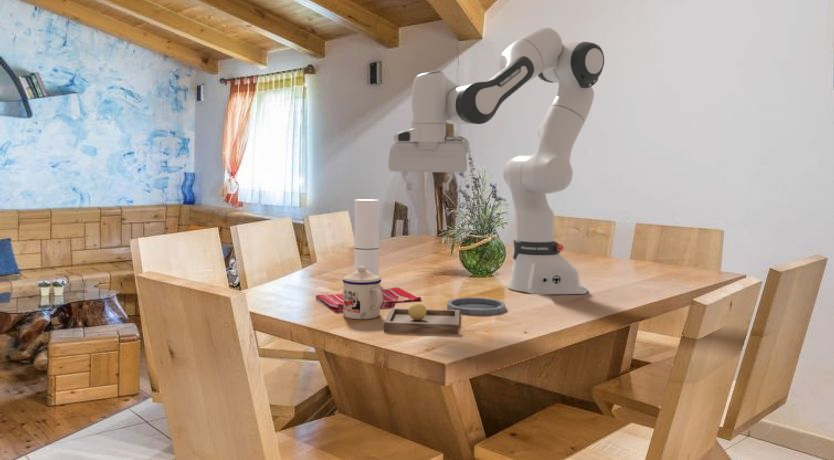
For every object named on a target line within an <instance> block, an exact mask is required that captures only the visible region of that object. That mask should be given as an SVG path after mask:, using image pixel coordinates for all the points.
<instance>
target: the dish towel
mask: <svg viewBox="0 0 834 460" xmlns="http://www.w3.org/2000/svg"><path fill="white" fill-rule="evenodd" d="M380 291H381V292H382V295H383V302H382V305H381V307H380V310H382V309H391V308H395V306H396V304H398V303H399V304H401V303H409V302H410V303H419V302H422V297H421V296H416V295H414V294H412V293H411V292H408V291H406V290H404V289H403V288H400V287H398V286H397V287H392V288H386V289H380ZM400 297H402V298H407V299H401V300H399V298H400ZM315 300H316V301H318V302H319V303H320V304H322V306H324V307H326V308H327V309H329V310H330V311H332V312H333V313H343V293H341V294H340V293H339V294H338V293H337V294H336V293H335V294H331V293H330V294H328V293H326V294H325V293H324V294H317V295H315Z"/></svg>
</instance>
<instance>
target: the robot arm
mask: <svg viewBox="0 0 834 460" xmlns="http://www.w3.org/2000/svg"><path fill="white" fill-rule="evenodd" d="M604 54H605V53H604V52H603V48H602V47H601V46H600V45H598V44H596V43H595V42H589V41H582V42H577V41H575V42H574V41H573V42H566V43H563V41H562V37H561V35H560V34H559V33H558V32H557V31H556V30H555V29H552V28H550V27H541V28H538V29H536V30H533V31H531V32H529V33H527V34H526V35H523V36H522V37H520V38H519V39H517V40H516V41H514V42H513V43H511V44H510V45H509V46H507V48H506V49H505V50H503V52H502V53H501V54H500V56H499V62H498V63H499V68H500V71H499V72H497V73H496V74H495V75H494V76H492V77H491V78H490V79H489V80H487V81H479V82H474V83H470V84H468V85H467V84H465V85H460V84H457V83H455V82H453V80H451V79H449V78H448V76H446V75H445V73H444V72H443V71H440V70H433V71H428V72H423V73H420V74H418V75H416V76H415V78H414V80H413V84H412V91H411V110H412V119H411V121H410V122H411V123H410V129H405V130H403V131H400V132H397V133H395V134H394V135H393V141H394V143H393V144H392V145H391V147H390V149H389V154H388V163H387V164H388V165H387V167H388V170H389V171H390V172H400V173H401V177H402V179H403V181H404V183H405V190H409V191H410V190H411V191H413V182H409V180H408V176H409V173H411V172H412V173H447V177H448V179H447V181H446V183H445V182H444V183H442V191H449V187H450V184H451V181H452V180H453V178H454V174H455V173H456V174H457V173H458V174H459V173H460V174H462V173H463V174H464V173H465V172H467V170H468V159H467V154H468V152H469V150H470V142H469V140H468V139H466V138H465V137H463V136H461V135H459V136H451V135H446V131H447V130H446V129H447V128H446V127H447V126H446V125H447V124H449V125H469V124H471V125H473V124H474V125H483V124H486V123H487V122H489V121H490V120H492V119H493V117H494V116H495V115H496V113H497V111H498V110H499V108H500V106H501V105H503V102H505V101H506V99H508V98H509V97H510V96H512V95H513V94H514V93H515V92H516V91H518V90H519V89H520V88H521V87H522V86H524V85H525V84H526V83H528V82H530V81H531V80H533V79H535V78H536V77H538V78H539V79H540V80H542V81H544V82H546V83H550V84H551V83H552V84H553V83H557V84H558V90H557V93H556V95H555V96H554V99H553V100H552V102H551V104H550V105H549V107H548V109H547V111H546V113H545V115H544V117H543V118H542V120H541V122H540V124H539V126H538V129H537V135H538V138H539V140H538V145H537V148H536V151H535V152H534V153H533V154H532V153H531V154H520V155H517V156H514V157H512V158H510V159H509V160H508V161H507V162H506V163H505V165H504V167H503V172H502V173H503V179H504V182H505V184H506V185H507V186H508V188H509V190H510V193H511V198H512V202H513V206H514V214H515V215H514V216H515V217H514V218H515V221H514V222H515V223H514V224H515V225H514V227H515V229H514V239H513V241H512V259H513V262H512V268H511V274H510V279H509V282H508V285H507V288H508V289H510V290H512V291H516V292H523V293H528V294H531V295H584V294H587V292H588V288H587V286H586V285H585V284H582V283H580V276H579V271H578V269H577V268H576V266H575V265H573V264H572V263H571V262H570V261H568V259H566V258H565V257H563V256H562V255H561V252H563V251H564V249H565V246H564V245H563V244H562V243H559V242H556V241H555V240H554V238H555V236H554V235H555V214H554V212H553V210H552V208H551V207H550V205H549V202H548V199H547V196H546V194H548V195H550V194H554V193H558V192H562V191H564V190H566V189H567V188H568V187H569V186H570V185H571V183H572V179H573V173H574V172H573V167H572V165H571V154H572V151H573V147H574V145H575V143H576V141H577V138H578V136H579V135H580V132H581V130H582V128H583V127H584V124H585V122H586V120H587V118H588V115H589V114H590V111H591V108H592V106H593V102H594V98H595V92H594V91H595V90H594V89H593V86H595V84H597V82H598V80H599V77H600V76H601V73H602V72H603V70H604V66H605V55H604Z"/></svg>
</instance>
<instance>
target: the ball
mask: <svg viewBox="0 0 834 460" xmlns="http://www.w3.org/2000/svg"><path fill="white" fill-rule="evenodd" d="M408 309H409V315H410V317H411V318H412V319H413V320H422V319H423V318H424V317H425V316H426V309H427V308H426V306H425V305H424V303H422V302H412V304H411V305H410V306H409V308H408Z"/></svg>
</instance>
